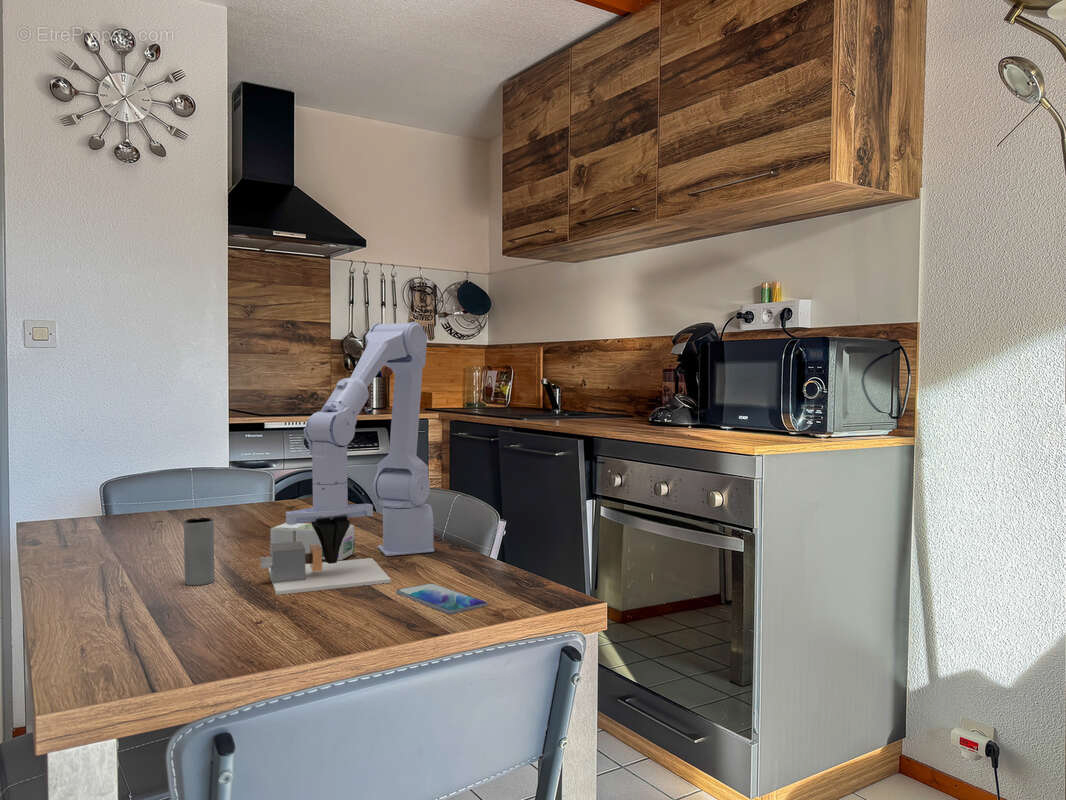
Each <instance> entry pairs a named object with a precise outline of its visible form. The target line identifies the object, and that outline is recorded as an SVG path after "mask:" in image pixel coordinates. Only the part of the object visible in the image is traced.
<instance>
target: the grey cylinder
mask: <svg viewBox="0 0 1066 800" xmlns="http://www.w3.org/2000/svg"><path fill="white" fill-rule="evenodd" d="M214 521H215V520H214V519H213V518H212V517H194V518H187V519H186V520H184V521H183V557H184V560H183V561H184V565H183V567H184V583H185V585H188V586H203V585H208V584H212V583H214V581H215V526H214V525H215V524H214V523H215V522H214Z"/></svg>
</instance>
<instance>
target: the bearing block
mask: <svg viewBox="0 0 1066 800" xmlns="http://www.w3.org/2000/svg"><path fill="white" fill-rule="evenodd" d="M269 547H270V549H269V554H270V556H272V567H271V577H272V580H273V583H281V582H291V581H300V580H305V547H304V546H303V544H302V542H301V541H298V542H286V543H274V544H269ZM270 556H269V557H270ZM271 577H270V578H271Z"/></svg>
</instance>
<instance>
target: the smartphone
mask: <svg viewBox="0 0 1066 800" xmlns="http://www.w3.org/2000/svg"><path fill="white" fill-rule="evenodd" d="M396 593H397V594H396ZM395 594H396V595H398V594H399V595H398V596H400V595H402V596H401V597H403V596H405V597H407V598H406V599H408V598H410V599H412V600H411V601H413V600H414V601H413V602H416V601H417V602H416V603H418V602H419V604H421V605H423V604H424V606H427V607H428V608H431V609H434V610H436V611H439V612H441V613H444V614H446V613H447V615H456V613H457V614H460V613H459V612H461V613H465V612H468V610H469V611H472V609H473V610H476V609H480V608H484V607H487V606H488V602H487V601H485V600H483V599H482V600H481V599H479V598H477V597H473V596H471V595H467V594H465V593H461V592H458V591H456V590H453V589H450V588H447V587H445V586H441V585H439V584H436V583H425V584H420V585H414V586H409V587H403V588H399V589H396V591H395ZM405 597H404V598H405ZM410 599H409V600H410ZM464 611H465V612H464Z"/></svg>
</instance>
